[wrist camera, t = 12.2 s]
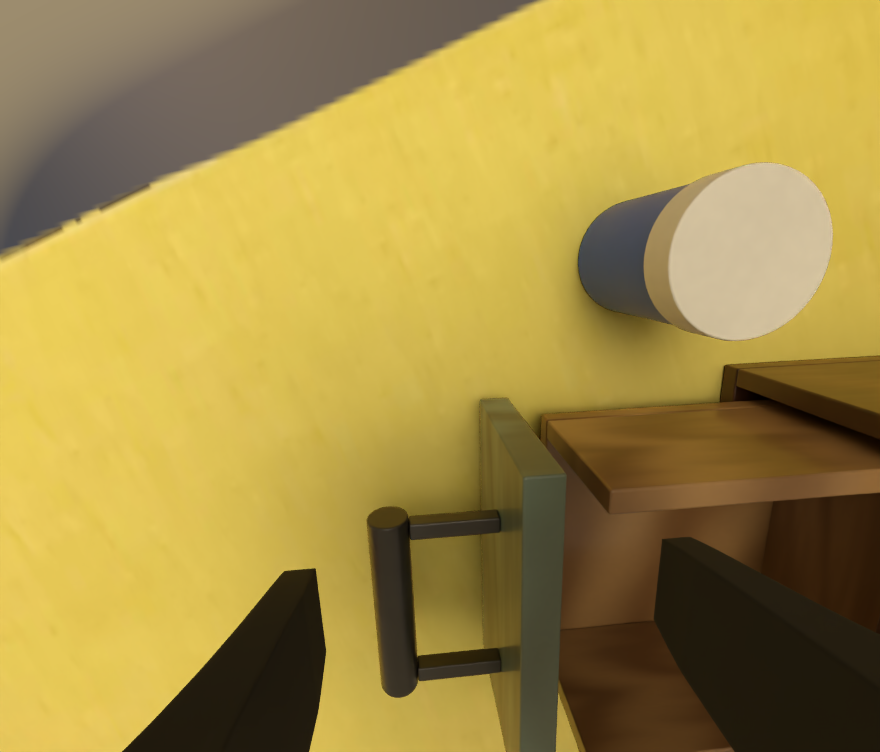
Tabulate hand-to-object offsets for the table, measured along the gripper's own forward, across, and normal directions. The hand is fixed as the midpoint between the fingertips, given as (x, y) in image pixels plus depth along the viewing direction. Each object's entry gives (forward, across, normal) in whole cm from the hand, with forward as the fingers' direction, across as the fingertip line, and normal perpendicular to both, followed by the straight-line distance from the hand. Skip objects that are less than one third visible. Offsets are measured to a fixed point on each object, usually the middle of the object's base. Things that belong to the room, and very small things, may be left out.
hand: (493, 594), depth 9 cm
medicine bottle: (+10, -8, -6) cm, 15 cm away
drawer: (+9, -6, +5) cm, 12 cm away
